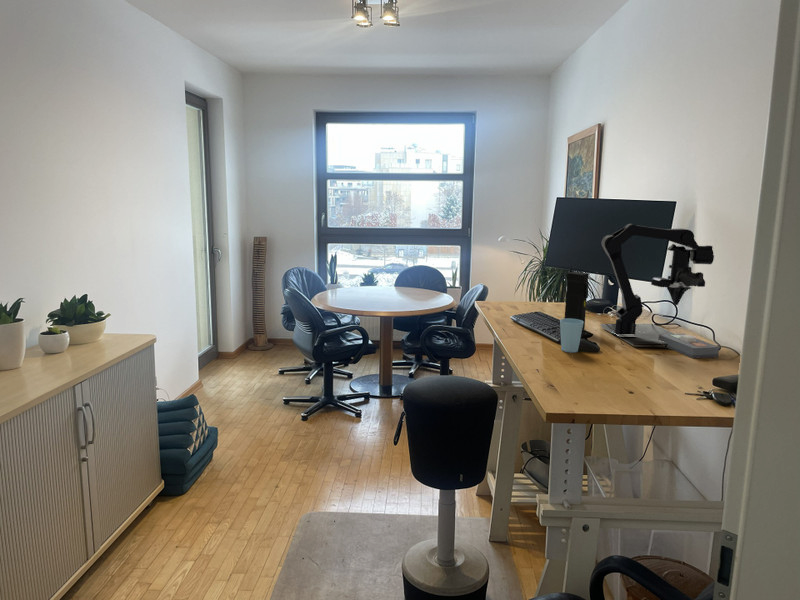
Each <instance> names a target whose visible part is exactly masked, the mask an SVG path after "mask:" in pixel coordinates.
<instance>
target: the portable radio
mask: <svg viewBox="0 0 800 600" xmlns="http://www.w3.org/2000/svg"><path fill="white" fill-rule="evenodd" d="M572 269H573V265H570V270H569V271H568V272H567V273H566V281H567V284H566V293H565V294H566V296H565V306H564V318H563V319H566V318H570V319H578V320H582V321H583V322H584V323H583V328H582V331H584V330H585V327H586V312H587V299H588V298H589V275H590V273H588V272H587V273H586V272H580V271H572Z"/></svg>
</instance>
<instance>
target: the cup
mask: <svg viewBox="0 0 800 600" xmlns="http://www.w3.org/2000/svg"><path fill="white" fill-rule="evenodd" d="M559 322H560V323H559V326H560V347H561V348H560V349H561V351H563V352H565V353H578V352H579V346H580V341H581V337H582V332H583V330H582V328H583V323H584V322H583V321H582V320H578V319H570V318H566V319H564V318H561V319H560V320H559Z"/></svg>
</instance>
